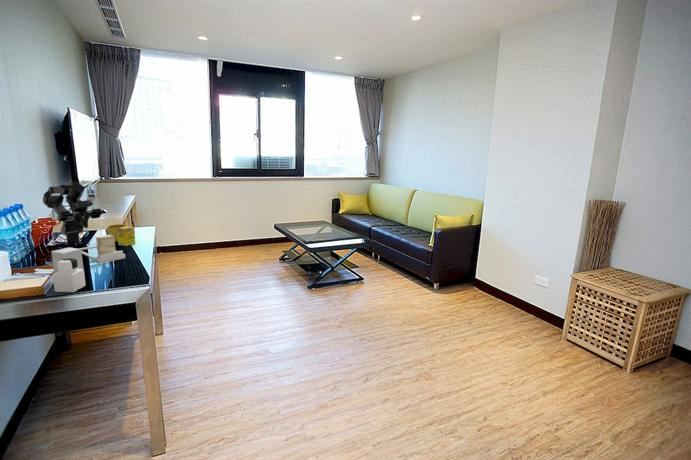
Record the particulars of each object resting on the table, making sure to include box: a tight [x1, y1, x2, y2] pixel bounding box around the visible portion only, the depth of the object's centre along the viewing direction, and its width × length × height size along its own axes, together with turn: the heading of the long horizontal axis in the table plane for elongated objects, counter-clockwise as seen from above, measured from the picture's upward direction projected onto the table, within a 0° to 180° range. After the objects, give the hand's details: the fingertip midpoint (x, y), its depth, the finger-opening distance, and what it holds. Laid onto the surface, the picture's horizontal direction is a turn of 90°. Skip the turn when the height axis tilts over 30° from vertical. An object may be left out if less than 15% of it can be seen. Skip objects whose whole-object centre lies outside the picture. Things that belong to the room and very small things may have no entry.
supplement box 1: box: [50, 247, 84, 274], centre depth 146 cm, size 7×7×13 cm
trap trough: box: [78, 245, 126, 264], centre depth 179 cm, size 26×12×4 cm, turn 57°
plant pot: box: [106, 223, 128, 243], centre depth 204 cm, size 10×10×10 cm
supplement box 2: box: [117, 225, 136, 247], centre depth 197 cm, size 6×6×11 cm
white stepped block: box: [52, 258, 87, 293], centre depth 137 cm, size 7×7×12 cm
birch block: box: [95, 234, 117, 258], centre depth 174 cm, size 5×6×10 cm
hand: (86, 227), depth 184 cm, fingers closed
